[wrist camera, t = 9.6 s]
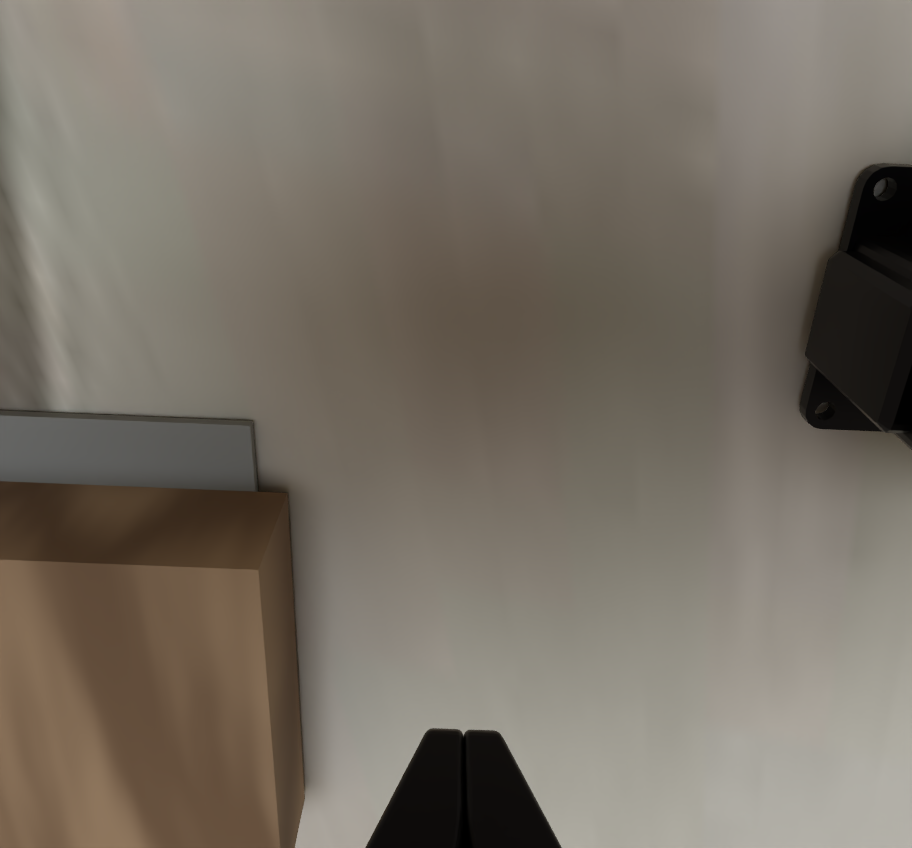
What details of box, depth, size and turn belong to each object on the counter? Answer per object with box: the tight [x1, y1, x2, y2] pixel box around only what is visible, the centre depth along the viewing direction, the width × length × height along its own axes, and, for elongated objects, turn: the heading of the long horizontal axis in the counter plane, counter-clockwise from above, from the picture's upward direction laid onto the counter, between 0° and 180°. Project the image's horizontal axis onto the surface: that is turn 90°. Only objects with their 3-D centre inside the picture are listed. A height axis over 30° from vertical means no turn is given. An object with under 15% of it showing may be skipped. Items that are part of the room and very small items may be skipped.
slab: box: [0, 481, 305, 848], centre depth 23 cm, size 4×12×9 cm
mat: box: [0, 410, 258, 492], centre depth 25 cm, size 11×16×1 cm
